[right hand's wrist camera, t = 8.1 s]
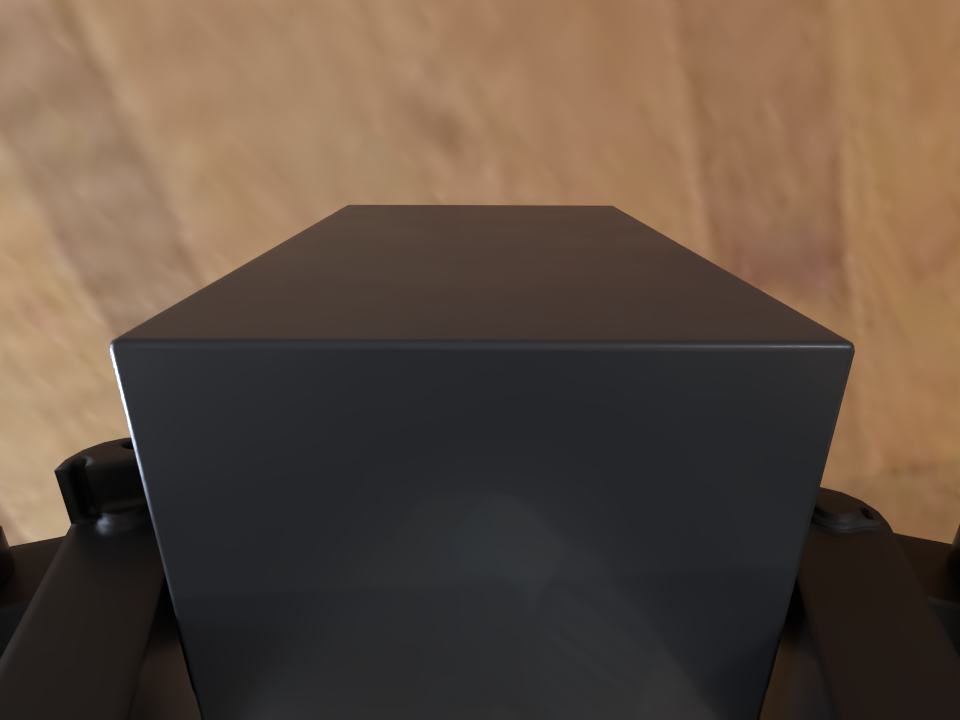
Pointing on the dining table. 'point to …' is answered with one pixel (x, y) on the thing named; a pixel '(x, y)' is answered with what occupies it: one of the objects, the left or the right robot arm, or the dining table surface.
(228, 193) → the dining table surface
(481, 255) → the slate beam
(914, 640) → the right robot arm
